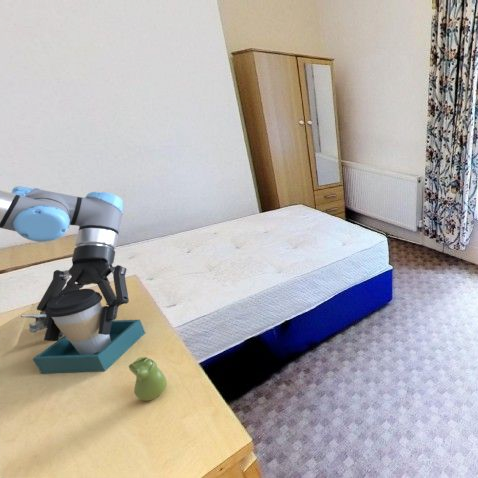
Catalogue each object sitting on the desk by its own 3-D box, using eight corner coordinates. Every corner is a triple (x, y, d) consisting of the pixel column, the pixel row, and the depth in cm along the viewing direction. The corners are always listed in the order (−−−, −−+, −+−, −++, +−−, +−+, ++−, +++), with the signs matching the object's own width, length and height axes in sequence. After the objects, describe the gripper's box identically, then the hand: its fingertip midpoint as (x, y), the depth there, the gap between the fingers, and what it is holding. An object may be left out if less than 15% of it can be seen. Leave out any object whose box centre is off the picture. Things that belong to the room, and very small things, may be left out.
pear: (174, 391, 71) (161, 357, 67) (146, 410, 67) (130, 374, 63) (161, 381, 74) (148, 348, 70) (133, 398, 69) (117, 363, 65)
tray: (41, 373, 74) (32, 358, 72) (91, 334, 87) (84, 320, 85) (104, 371, 76) (97, 356, 74) (145, 333, 88) (140, 319, 86)
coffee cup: (82, 339, 83) (57, 290, 77) (127, 331, 86) (107, 284, 80) (59, 365, 75) (30, 313, 69) (110, 355, 78) (86, 305, 72)
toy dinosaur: (51, 313, 94) (34, 281, 90) (91, 303, 99) (77, 271, 95) (39, 356, 79) (18, 319, 75) (87, 341, 84) (70, 305, 80)
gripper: (153, 250, 89) (142, 331, 82) (54, 257, 84) (32, 345, 76) (137, 240, 83) (123, 328, 75) (28, 247, 77) (1, 343, 69)
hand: (78, 337), depth 76 cm, fingers closed on coffee cup, 9 cm apart
